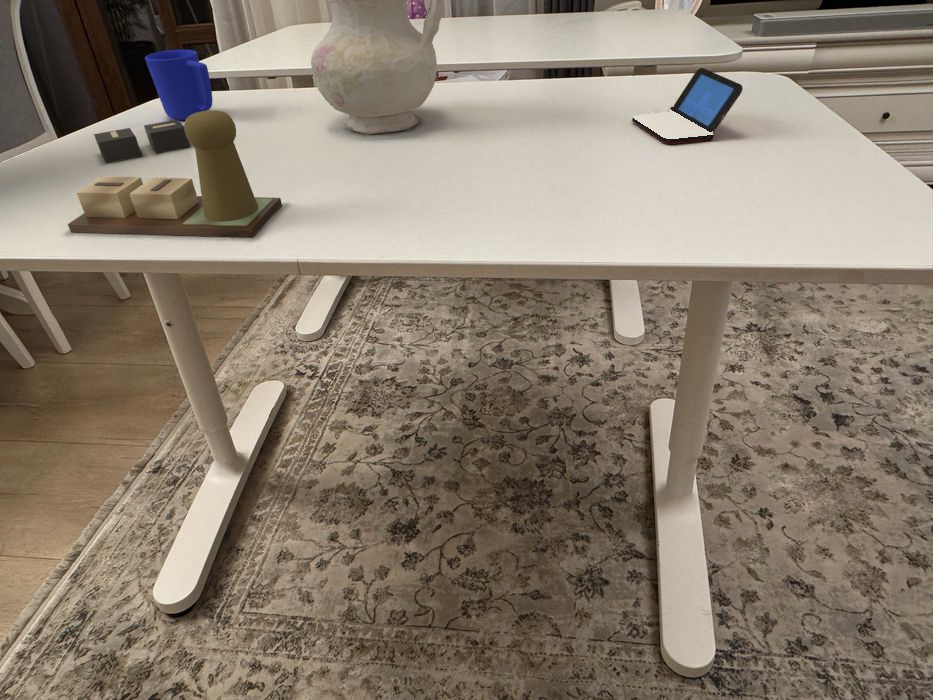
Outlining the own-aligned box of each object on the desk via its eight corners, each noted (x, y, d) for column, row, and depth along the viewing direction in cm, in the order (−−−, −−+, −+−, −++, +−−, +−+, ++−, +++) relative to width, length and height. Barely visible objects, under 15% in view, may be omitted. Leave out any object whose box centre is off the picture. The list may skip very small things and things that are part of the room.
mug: (198, 128, 106) (180, 63, 100) (153, 119, 112) (134, 57, 106) (237, 115, 112) (222, 53, 106) (192, 107, 117) (176, 47, 111)
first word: (101, 154, 97) (93, 133, 95) (183, 138, 102) (177, 118, 100) (105, 163, 93) (97, 141, 91) (190, 146, 98) (184, 126, 96)
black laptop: (628, 122, 101) (634, 72, 97) (692, 116, 103) (700, 66, 98) (664, 146, 91) (673, 91, 87) (734, 139, 93) (746, 85, 88)
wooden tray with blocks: (70, 232, 74) (56, 198, 71) (115, 201, 81) (103, 169, 79) (252, 237, 71) (243, 202, 68) (282, 205, 78) (275, 172, 76)
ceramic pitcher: (464, 116, 111) (460, -55, 98) (440, 142, 94) (431, -59, 82) (344, 115, 114) (325, -51, 102) (301, 140, 98) (272, -53, 85)
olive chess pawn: (237, 224, 71) (211, 122, 65) (192, 217, 73) (163, 118, 67) (268, 203, 76) (247, 106, 69) (226, 198, 78) (201, 103, 71)
